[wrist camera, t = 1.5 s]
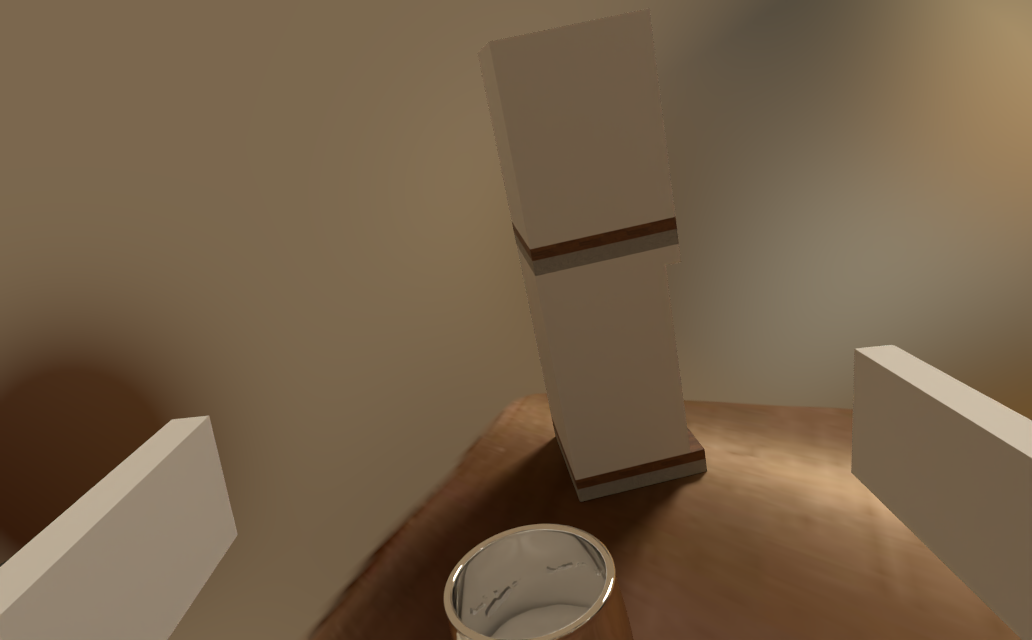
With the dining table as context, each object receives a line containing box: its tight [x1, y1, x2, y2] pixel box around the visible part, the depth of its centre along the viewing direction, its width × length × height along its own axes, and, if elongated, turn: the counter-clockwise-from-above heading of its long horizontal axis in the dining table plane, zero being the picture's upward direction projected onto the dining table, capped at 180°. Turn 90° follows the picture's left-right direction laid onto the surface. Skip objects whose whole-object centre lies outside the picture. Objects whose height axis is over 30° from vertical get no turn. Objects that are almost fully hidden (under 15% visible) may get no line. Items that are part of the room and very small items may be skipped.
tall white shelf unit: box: [478, 8, 707, 502], centre depth 55 cm, size 11×11×35 cm
